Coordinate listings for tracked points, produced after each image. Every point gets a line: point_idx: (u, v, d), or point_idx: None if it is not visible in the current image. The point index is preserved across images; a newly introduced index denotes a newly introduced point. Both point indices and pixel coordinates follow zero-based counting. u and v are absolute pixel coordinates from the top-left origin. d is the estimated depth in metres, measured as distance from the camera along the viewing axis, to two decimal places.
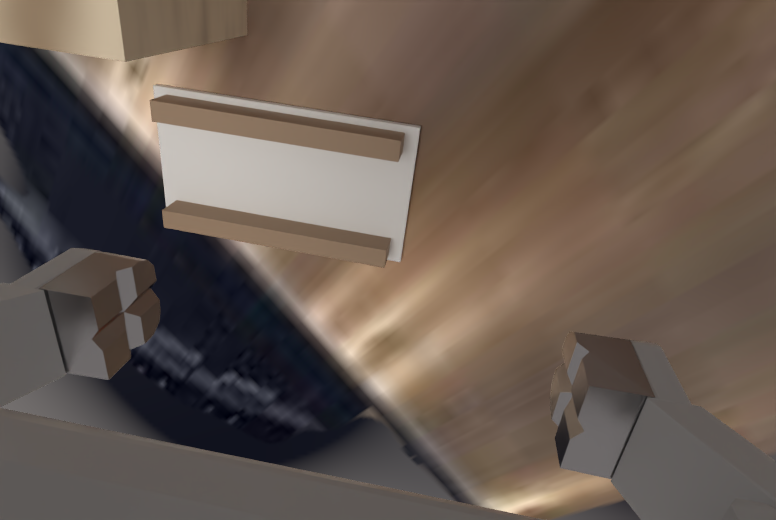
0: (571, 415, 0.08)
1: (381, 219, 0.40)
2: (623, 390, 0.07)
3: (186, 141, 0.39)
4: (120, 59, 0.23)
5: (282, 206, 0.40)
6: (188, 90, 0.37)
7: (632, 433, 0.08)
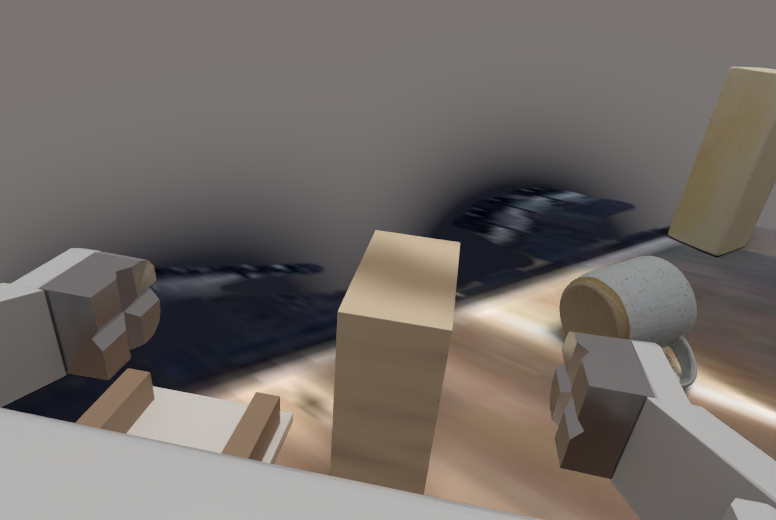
0: (571, 415, 0.08)
1: None
2: (623, 390, 0.07)
3: (220, 428, 0.31)
4: (340, 309, 0.20)
5: None
6: (278, 446, 0.31)
7: (631, 433, 0.08)
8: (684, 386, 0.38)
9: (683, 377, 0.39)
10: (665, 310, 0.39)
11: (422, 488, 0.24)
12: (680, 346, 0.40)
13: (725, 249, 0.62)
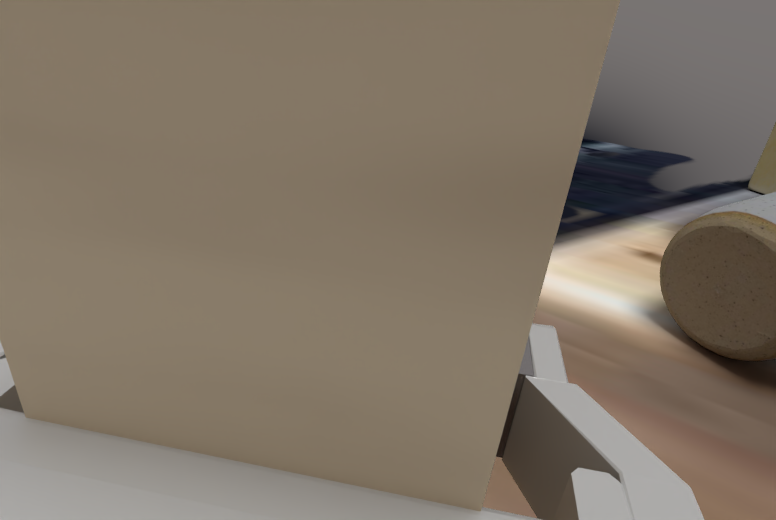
0: None
1: None
2: None
3: None
4: None
5: None
6: None
7: (515, 412, 0.08)
8: None
9: None
10: None
11: None
12: None
13: None
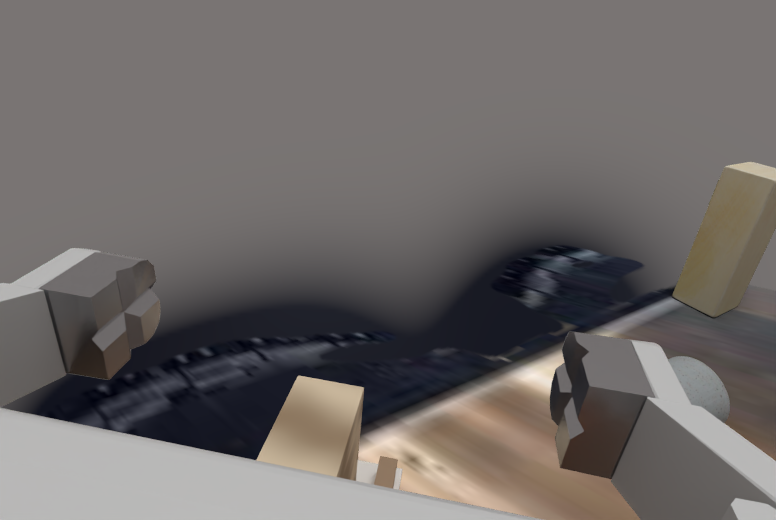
0: (571, 415, 0.08)
1: None
2: (623, 390, 0.07)
3: None
4: None
5: None
6: None
7: (632, 433, 0.08)
8: None
9: None
10: (705, 409, 0.48)
11: None
12: None
13: (720, 311, 0.74)
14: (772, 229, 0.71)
